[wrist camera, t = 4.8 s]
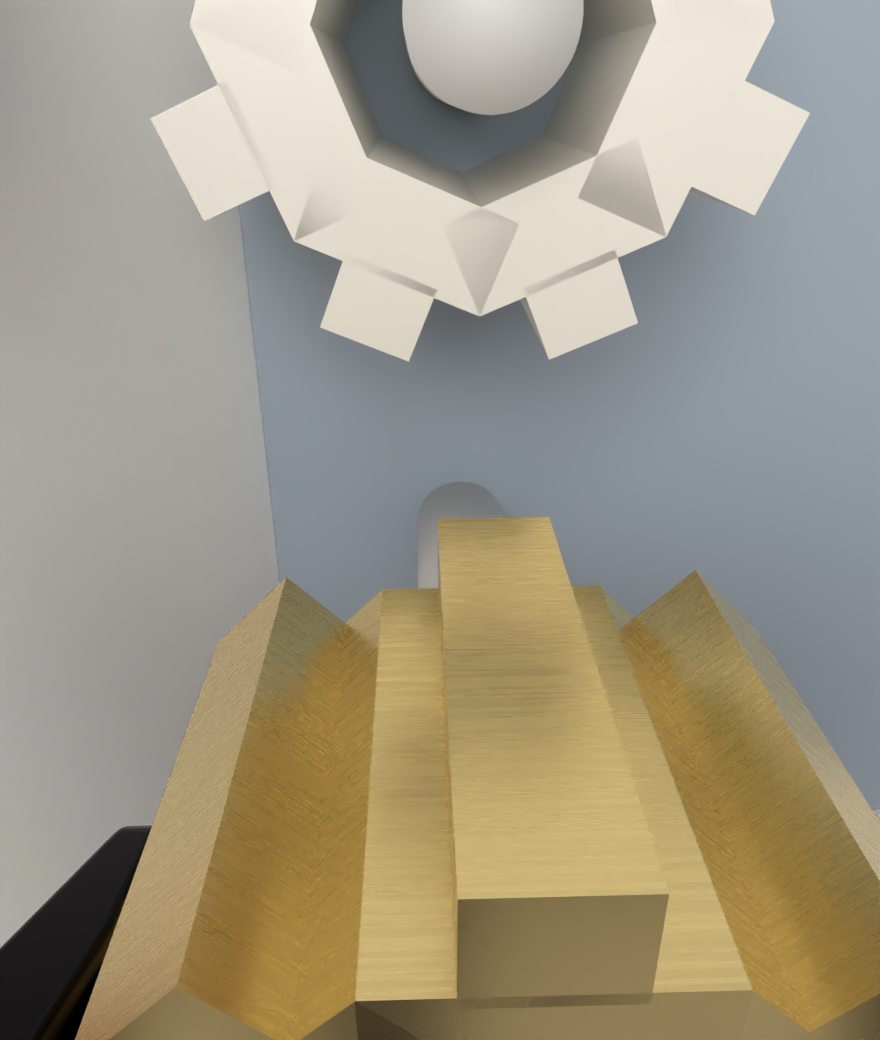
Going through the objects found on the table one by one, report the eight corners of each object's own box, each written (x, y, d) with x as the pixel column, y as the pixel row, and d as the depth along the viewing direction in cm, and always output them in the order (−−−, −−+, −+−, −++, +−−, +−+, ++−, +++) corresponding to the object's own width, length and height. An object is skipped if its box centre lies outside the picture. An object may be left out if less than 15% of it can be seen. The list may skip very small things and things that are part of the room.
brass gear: (844, 511, 8) (1226, 880, 4) (736, 972, 12) (902, 1424, 8) (135, 523, 8) (-123, 915, 4) (221, 986, 11) (119, 1456, 7)
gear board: (935, 782, 20) (1133, 1045, 15) (309, 796, 20) (268, 1073, 14) (1323, -345, 11) (2230, -782, 6) (190, -349, 11) (-46, -812, 5)
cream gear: (751, 180, 13) (892, 218, 9) (350, 353, 14) (325, 452, 10) (619, -385, 10) (744, -680, 6) (124, -114, 11) (-30, -222, 7)
